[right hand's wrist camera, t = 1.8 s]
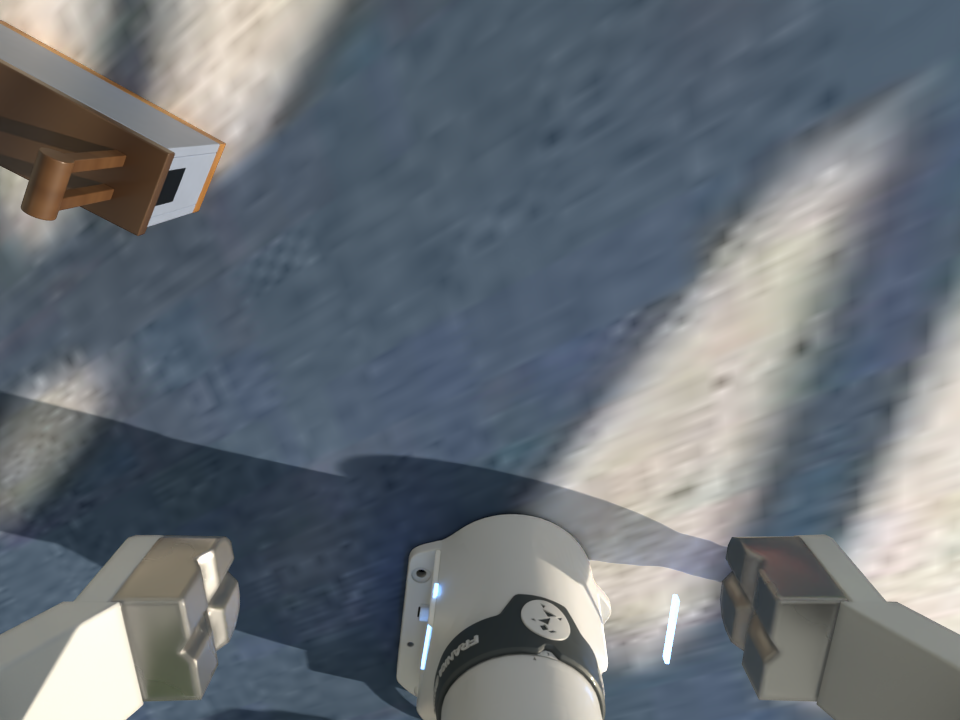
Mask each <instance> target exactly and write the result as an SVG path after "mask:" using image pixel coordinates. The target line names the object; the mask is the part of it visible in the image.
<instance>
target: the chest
mask: <svg viewBox="0 0 960 720" xmlns="http://www.w3.org/2000/svg"><path fill="white" fill-rule="evenodd" d="M0 59H2V60H4V61H6V62H8V63H10V64H11V65H13V66H15V67H17V68H19V69H21V70H22V71H24V72H26V73H28V74H30V75H32V76H34V77H35V78H37V79H39V80H41V81H43V82H45V83H47V84H48V85H50V86H52V87H54V88H56V89H58V90H60V91H61V92H63V93H65V94H67V95H69V96H71V97H73V98H74V99H76V100H78V101H80V102H82V103H84V104H85V105H87V106H89V107H91V108H93V109H95V110H97V111H98V112H100V113H102V114H104V115H106V116H108V117H110V118H111V119H113V120H115V121H117V122H119V123H121V124H123V125H124V126H126V127H128V128H130V129H132V130H134V131H136V132H137V133H139V134H141V135H143V136H145V137H147V138H148V139H150V140H152V141H154V142H156V143H158V144H160V145H161V146H163V147H165V148H167V149H169V150H171V151H173V152H174V153H175V156H174V158H173V161H172V163H171V166H170V169H169V171H168V174H167V177H166V179H165V182H164V184H163V187H162V190H161V192H160V195H159V197H158V200H157V203H156V205H155V208H154V210H153V213H152V216H151V218H150V221H149V223H148V226H147V227H149V226H152V225H155V224H158V223H161V222H164V221H168V220H171V219H174V218H177V217H180V216H183V215H186V214H190V213H194V212H197V211H199V209H200V206H201V204H202V201H203V199H204V196H205V194H206V191H207V189H208V187H209V184H210V182H211V179H212V177H213V174H214V172H215V169H216V167H217V164H218V162H219V159H220V157H221V155H222V152H223V150H224V147H225V145H226V143H224V142H222V141H220V140H218V139H217V138H215V137H213V136H211V135H209V134H207V133H206V132H204V131H202V130H200V129H198V128H197V127H195V126H193V125H191V124H189V123H187V122H186V121H184V120H182V119H180V118H178V117H177V116H175V115H173V114H171V113H169V112H167V111H166V110H164V109H162V108H160V107H158V106H157V105H155V104H153V103H151V102H149V101H147V100H146V99H144V98H142V97H140V96H138V95H136V94H135V93H133V92H131V91H129V90H127V89H126V88H124V87H122V86H120V85H118V84H116V83H115V82H113V81H111V80H109V79H107V78H106V77H104V76H102V75H100V74H98V73H96V72H95V71H93V70H91V69H89V68H87V67H86V66H84V65H82V64H80V63H78V62H76V61H75V60H73V59H71V58H69V57H67V56H66V55H64V54H62V53H60V52H58V51H56V50H55V49H53V48H51V47H49V46H47V45H46V44H44V43H42V42H40V41H38V40H36V39H35V38H33V37H31V36H29V35H27V34H26V33H24V32H22V31H20V30H18V29H16V28H15V27H13V26H11V25H9V24H7V23H6V22H4V21H1V20H0Z"/></svg>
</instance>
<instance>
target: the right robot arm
mask: <svg viewBox="0 0 960 720" xmlns="http://www.w3.org/2000/svg"><path fill="white" fill-rule="evenodd" d="M233 560H234V554H233V549H232V544H231V541H230V540H229V539H228V538H227V537H226V536H180V535H166V536H163V535H135V536H132V537H129V538H127V539H126V540H125V542H124V543H123V544H122V545H121V546H120V547H119V549H118V550H117V551H116V552H115V553H114V555H113V556H112V557H111V558H110V559H109V560H108V562H107V563H106V564H105V565H104V566H103V567H102V569H101V570H100V571H99V572H98V573H97V575H96V576H95V577H94V578H93V579H92V580H91V582H90V583H89V584H88V585H87V586H86V587H85V589H84V590H83V591H82V592H81V593H80V595H79V596H78V597H77V598H76V599H75V600H74V602H62V603H60V604H58V605H56V606H54V607H52V608H51V609H49V610H47V611H45V612H43V613H41V614H39V615H37V616H35V617H33V618H31V619H29V620H28V621H26V622H24V623H22V624H20V625H18V626H16V627H14V628H12V629H10V630H8V631H6V632H5V633H3V634H1V635H0V720H126V719H127V718H128V717H129V716H131V715H132V714H133V713H134V712H135V711H136V710H138V709H139V708H140V707H141V706H142V705H143V701H172V700H201V699H202V697H203V694H204V692H205V690H206V688H207V686H208V684H209V682H210V680H211V678H212V676H213V674H214V672H215V670H216V668H217V666H218V660H217V654H216V651H217V650H218V649H220V648H221V647H223V646H224V645H225V644H227V643H228V642H229V641H230V638H231V636H232V634H233V632H234V630H235V627H236V623H237V618H238V613H239V607H240V593H239V586H238V581H237V580H236V579H235V578H234V577H233V576H232V575H231V574H230V573H229V572H228V569H229V567H230V565H231V564H232V562H233ZM726 560H727V562H728V564H729V565H730V567H731V569H732V572H731V573H730V574H729V575H728V576H727V577H726V578H725V579H724V580H723V581H722V586H721V595H720V604H721V615H722V619H723V623H724V627H725V630H726V632H727V634H728V636H729V638H730V641H731V642H732V643H733V644H735V645H736V646H737V647H739V648H740V649H742V650H743V651H744V654H743V660H742V666H743V668H744V670H745V672H746V674H747V676H748V678H749V680H750V682H751V684H752V686H753V688H754V690H755V692H756V694H757V696H758V698H759V700H787V701H817V705H818V706H819V707H820V708H822V709H823V710H824V711H825V712H826V713H827V714H829V715H830V716H831V717H832V718H833V719H834V720H960V635H959V634H957V633H955V632H953V631H951V630H950V629H948V628H946V627H944V626H942V625H940V624H938V623H936V622H934V621H932V620H930V619H929V618H927V617H925V616H923V615H921V614H919V613H917V612H915V611H913V610H911V609H909V608H908V607H906V606H904V605H902V604H900V603H898V602H886V600H885V599H884V598H883V597H882V596H881V595H880V593H879V592H878V591H877V590H876V589H875V588H874V586H873V585H872V584H871V583H870V582H869V580H868V579H867V578H866V577H865V576H864V575H863V573H862V572H861V571H860V570H859V569H858V568H857V566H856V565H855V564H854V563H853V562H852V560H851V559H850V558H849V557H848V556H847V555H846V553H845V552H844V551H843V550H842V549H841V548H840V546H839V545H838V544H837V543H836V542H835V541H834V539H833V538H831V537H829V536H827V535H799V536H793V537H732V538H731V540H730V542H729V544H728V548H727V554H726ZM418 570H424V571H425V572H419V571H418ZM679 602H680V601H679V598H678V596H677V594H673V598H672V604H671V611H670V617H669V623H668V629H667V635H666V641H665V647H664V653H663V658H664V661H665V664H669V661H670V655H671V649H672V643H673V637H674V631H675V625H676V619H677V614H678V608H679ZM610 615H611V605H610V601H609V599H608V597H607V595H606V594H605V593H604V592H603V591H602V589H601V588H600V587H599V586H598V585H597V584H596V583H595V580H594V578H593V575H592V571H591V567H590V563H589V560H588V558H587V555H586V553H585V552H584V550H583V548H582V547H581V545H580V544H579V543H578V542H577V541H576V539H575V538H574V537H573V536H571V535H570V534H569V533H568V532H567V531H565V530H564V529H562V528H561V527H559V526H557V525H556V524H554V523H552V522H549V521H547V520H544V519H541V518H538V517H534V516H529V515H521V514H504V515H496V516H491V517H487V518H483V519H480V520H477V521H475V522H473V523H471V524H469V525H467V526H465V527H463V528H462V529H460V530H458V531H457V532H455V533H454V534H452V535H451V536H449V537H448V538H446V539H443V540H440V541H435V542H430V543H426V544H423V545H420V546H417V547H415V548H414V549H413V550H412V551H411V552H410V555H409V561H408V570H407V579H406V588H405V597H404V606H403V615H402V624H401V633H400V642H399V651H398V660H397V681H398V682H399V683H400V684H401V685H402V686H403V687H404V688H405V689H406V690H407V691H409V692H410V693H412V694H413V695H415V696H416V697H417V706H416V709H417V712H418V714H419V715H420V716H421V718H422V719H423V720H604V718H605V701H604V699H605V697H604V696H605V694H604V685H603V680H602V676H601V674H602V672H605V671H606V670H607V665H608V660H607V651H606V644H605V636H604V629H603V624H604V623H605V622H606V621H607V619H608V618H609V617H610Z"/></svg>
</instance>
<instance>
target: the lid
mask: <svg viewBox="0 0 960 720" xmlns="http://www.w3.org/2000/svg"><path fill="white" fill-rule="evenodd" d="M174 156H175V153H174V152H173V151H171V150H169V149H167V148H165V147H163V146H161V145H160V144H158V143H156V142H154V141H152V140H150V139H148V138H147V137H145V136H143V135H141V134H139V133H137V132H136V131H134V130H132V129H130V128H128V127H126V126H124V125H123V124H121V123H119V122H117V121H115V120H113V119H111V118H110V117H108V116H106V115H104V114H102V113H100V112H98V111H97V110H95V109H93V108H91V107H89V106H87V105H85V104H84V103H82V102H80V101H78V100H76V99H74V98H73V97H71V96H69V95H67V94H65V93H63V92H61V91H60V90H58V89H56V88H54V87H52V86H50V85H48V84H47V83H45V82H43V81H41V80H39V79H37V78H35V77H34V76H32V75H30V74H28V73H26V72H24V71H22V70H21V69H19V68H17V67H15V66H13V65H11V64H10V63H8V62H6V61H4V60H2V59H0V166H2V167H4V168H6V169H8V170H10V171H12V172H14V173H16V174H18V175H19V176H21V177H23V178H25V179H27V180H29V182H28V185H27V189H26V192H25V195H24V198H23V201H22V204H21V209H22V210H23V211H24V212H25V213H27V214H28V215H30V216H33V217H35V218H38V219H42V220H50V221H51V220H55V219H56V217H57V214H58V211H59V210H64V209H69V208H74V207H78V206H80V207H82V208H84V209H86V210H88V211H90V212H92V213H94V214H96V215H98V216H100V217H102V218H104V219H106V220H107V221H109V222H111V223H113V224H115V225H117V226H119V227H121V228H123V229H125V230H127V231H129V232H131V233H133V234H135V235H137V236H139V235H142V234H144V233H145V231H146V229H147V226H148V223H149V221H150V218H151V216H152V213H153V210H154V208H155V205H156V203H157V200H158V197H159V195H160V192H161V190H162V187H163V184H164V182H165V179H166V177H167V174H168V171H169V169H170V166H171V163H172V161H173V158H174Z"/></svg>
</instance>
